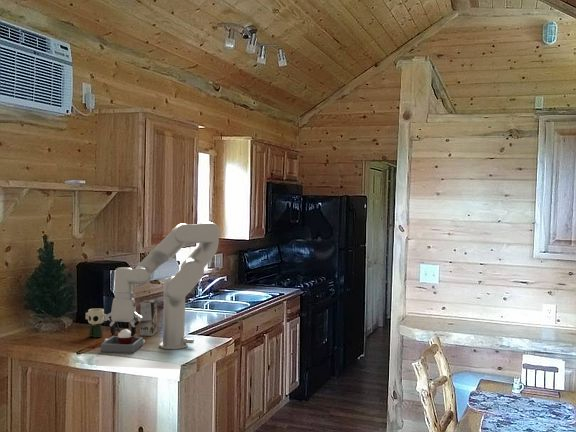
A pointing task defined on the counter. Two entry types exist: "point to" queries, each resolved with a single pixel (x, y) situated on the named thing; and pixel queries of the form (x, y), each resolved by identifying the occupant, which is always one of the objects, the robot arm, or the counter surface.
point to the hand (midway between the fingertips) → (123, 335)
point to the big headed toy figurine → (95, 321)
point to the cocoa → (124, 336)
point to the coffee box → (148, 317)
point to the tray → (121, 345)
